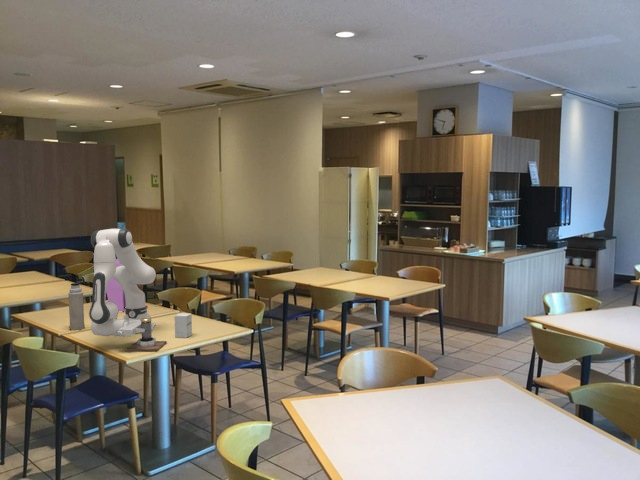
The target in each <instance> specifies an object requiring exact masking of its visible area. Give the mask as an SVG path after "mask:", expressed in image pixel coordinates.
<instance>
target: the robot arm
mask: <svg viewBox="0 0 640 480" xmlns="http://www.w3.org/2000/svg"><path fill="white" fill-rule="evenodd" d="M90 244H91V245H92V247H93V248H94V250H93V251H94V252H93V280H92V295H91V296H92V297H91V299H92V300H91V306H90V309H89V312H88V316H89V319H90V320H91V322H90V331H91V332H92V334H93V335H96V336H100V337H110V336H114V337H132V336H134V335H136V334H139V333H141V332H145V328H142V329H141V322H140V319H141V318H151V319H152V316H151V315H150V314H149V313H148V305H147V304H146V295H145V294H146V293H145V292H144V291H143V290H141V289H140V288H139V287H138V285H149V284H153V282H154V281H155V280H156V278H157V277H156V276H157V275H156V273H157V272H156V270H155V268H154V267H153V266H150V265H148V264H147V263H146V262H145V261H144V260H143V259H141V257H140V256H139V253H138V252H137V250H136V249H137V248H136V247H135V244H134V242H133V235H132V232H131V231H130V230H129V229H127V228H107V229H97V230H95V231H93V232H92V234H91V236H90ZM116 259H118V261H119V263H120V264H121V265H123V266H119V267H117V268H116ZM112 277H114V279H115V281H116V282H117V283H119V284H120V286H121V287H122V289H123V291H124V294H125V301H126V308H124V313H125V315H123V317H122V319H119V318H118V315H119V312H118V307H117V305H116V304H115V303H114V302H108V301H106V297H107V293H106V285H107V283H108V282H109V280H110V279H111V278H112ZM155 327H156V323H155V322H151V331H153V330H154V328H155Z"/></svg>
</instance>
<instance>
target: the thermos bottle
mask: <svg viewBox="0 0 640 480" xmlns="http://www.w3.org/2000/svg"><path fill="white" fill-rule="evenodd" d="M67 295H68V310H69V311H68V313H69V314H68V315H69V316H68V317H69V330H70V329H71V330H79V331H82V329H83V330H85V313H84V292H83V291H82V288H81V283H79V282H74V283H73V282H72V283H70V288H69V292H68V294H67ZM71 330H70V331H71Z"/></svg>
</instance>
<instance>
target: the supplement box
mask: <svg viewBox="0 0 640 480" xmlns="http://www.w3.org/2000/svg"><path fill="white" fill-rule="evenodd" d="M192 315H193V314H192V313H190V312H189V313H186V312H180V313H178V314H175V315H174V337H175V338H180V339H181V338H182V339H187V338H188V337H190V336H192V335H193V330H192V329H193V325H192V324H193V322H192Z"/></svg>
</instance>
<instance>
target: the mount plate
mask: <svg viewBox="0 0 640 480" xmlns="http://www.w3.org/2000/svg"><path fill="white" fill-rule="evenodd" d="M167 342H168V341H166V340H156V345H155V346H152V347H139V346H138V344H137V341H136V342H134V343H133V344H131V345H130V346H129V347H128V348H126V351H125V352H126V353H127V352H129V353H130V352H133V353H134V352H139V353H142V352H143V353H145V352H146V353H147V352H148V353H149V352H150V353H152V352H153V353H157V352H159V350H160V349H162V348H163V347H164V346H165V345H167V344H168V343H167Z"/></svg>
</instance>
